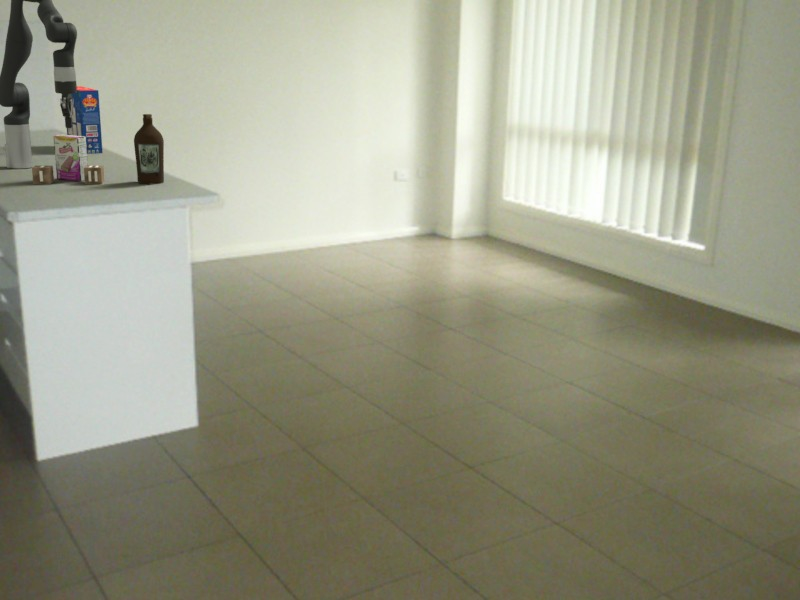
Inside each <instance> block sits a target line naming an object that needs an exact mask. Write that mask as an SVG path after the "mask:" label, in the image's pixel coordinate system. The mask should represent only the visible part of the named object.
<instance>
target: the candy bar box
mask: <svg viewBox="0 0 800 600" xmlns="http://www.w3.org/2000/svg"><path fill="white" fill-rule="evenodd" d="M53 145H54V146H53V147H54V148H53V149H54V155H55V156H54V159H55V169H56V180H62V181H63V180H64V181H70V182H71V181H73V182H85V178H84V167H86V166H89V165H88V154H87V146H86V137H85V136H74V135H67V134H55V135H53Z"/></svg>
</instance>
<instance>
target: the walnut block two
mask: <svg viewBox="0 0 800 600" xmlns="http://www.w3.org/2000/svg"><path fill="white" fill-rule="evenodd" d="M104 169H105V168H104V165H88V166H86V167H84V178H85V181H84V185H103V184H104V183H105V171H104Z"/></svg>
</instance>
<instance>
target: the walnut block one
mask: <svg viewBox="0 0 800 600" xmlns="http://www.w3.org/2000/svg"><path fill="white" fill-rule="evenodd" d="M31 173H32V184H33V185H52V184H53V183H54V182H55V179H54V178H55V177H54V176H55V174H54V166H53V165H33V167H31ZM51 183H52V184H51Z"/></svg>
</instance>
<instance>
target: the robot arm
mask: <svg viewBox="0 0 800 600" xmlns="http://www.w3.org/2000/svg"><path fill="white" fill-rule="evenodd" d="M24 2H29V3H38V4H39V5H38V6H37V9H36V11H37V16H38V19H39V20H40V22H41V23H42V24H43V26H44V29H45V36H46V38H47V40H48V41H49V42H51V43H55V44H64V47H63V48H60V49H55V50H53V52H52V57H53V58H52V61H53V79H54V80H53V81H54V90H55V93H56V94H61V98H60V99H59V100H60V101H59V102H60V104H59V106H60V108H61V113H62V117H63V118H64V127H65V128H66V129H67V128H72V118H71V117H72V115H73V107H74V101H73V98H72V96H71V94H72V93H77V87H78V85H77V74H76V68H75V58H74V56H75V55H74V54H75V48H76V42H77V38H78V31H77V27H76V26H75V25H74V24H73V23H72V22H64V18H63V16H62V15H61V13H60V12H59V11H58V9H57V8H56V6H55V4H54V2H53V1H52V0H10V11H9V13H10V14H9V20H8V26H7V33H6V39H5V46H4V53H3V54H4V55H3V60H2V68H1V70H0V106H1V107H5V108H12V109H11V111H10V112H9V114H7V115H5V116H4V117H3V128H4V135H5V136H4V137H5V143H4V152H5V153H4V154H5V161H6V162H5V163H6V169H29V168H33V167H34V163H33V162H34V161H33V154H32V142H31V131H30V117H31V106H30V104H31V102H30V93H29V89H28V87H27V86H26V85H25V84H24V83H22V82H16V80H17V77H18V74H19V72H20V71H21V69H22V68H23V67H24V66H25V64H26V62H27V61H28V59H29V58H30V56H31V53H32V48H33V47H32V46H33V34H32V31H31V28H30V26H29V24H28V22H27V21H26V18H25V14H24V10H23V9H24V8H23V7H24V6H23V5H24Z"/></svg>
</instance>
